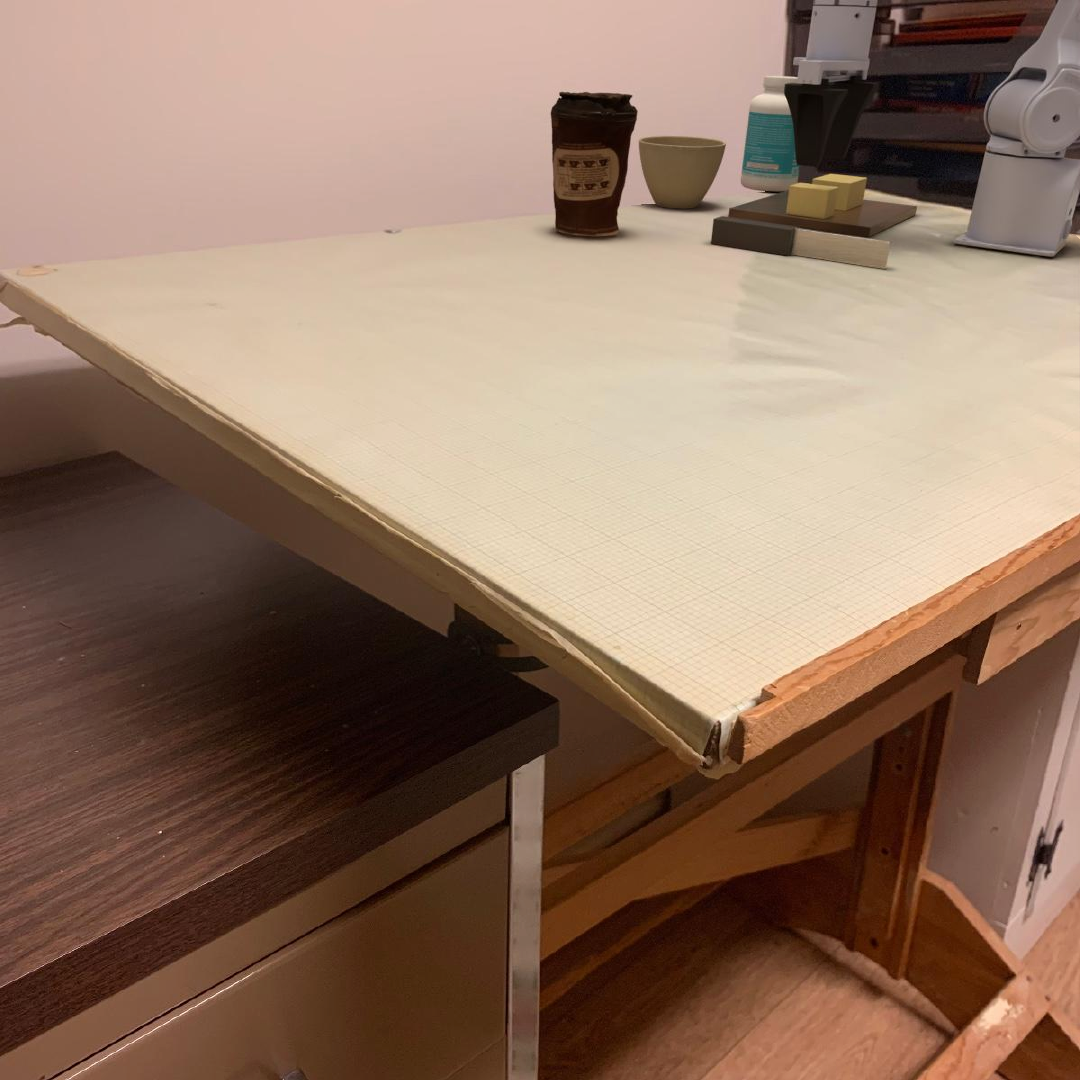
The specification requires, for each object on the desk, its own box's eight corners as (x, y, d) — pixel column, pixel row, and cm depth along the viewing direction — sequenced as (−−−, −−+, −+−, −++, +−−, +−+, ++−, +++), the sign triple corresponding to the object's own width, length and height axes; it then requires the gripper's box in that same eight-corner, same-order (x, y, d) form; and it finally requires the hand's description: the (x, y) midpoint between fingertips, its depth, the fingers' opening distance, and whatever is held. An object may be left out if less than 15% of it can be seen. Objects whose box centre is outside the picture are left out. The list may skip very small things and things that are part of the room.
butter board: (915, 214, 117) (917, 206, 116) (868, 237, 103) (870, 227, 103) (786, 198, 124) (788, 190, 124) (727, 217, 111) (729, 208, 110)
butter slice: (833, 215, 108) (838, 187, 107) (824, 219, 106) (829, 190, 105) (795, 210, 110) (799, 182, 109) (785, 214, 108) (789, 185, 107)
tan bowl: (630, 196, 121) (635, 134, 118) (712, 199, 121) (719, 137, 118) (637, 211, 112) (642, 143, 109) (724, 214, 113) (732, 147, 109)
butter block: (862, 204, 116) (867, 177, 114) (845, 211, 111) (850, 183, 110) (826, 200, 118) (830, 173, 116) (808, 206, 113) (812, 178, 112)
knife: (888, 266, 91) (893, 240, 90) (882, 270, 89) (887, 243, 88) (719, 240, 99) (721, 215, 98) (710, 243, 97) (713, 218, 96)
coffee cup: (622, 244, 96) (632, 97, 90) (538, 237, 97) (543, 93, 91) (632, 228, 103) (643, 92, 97) (554, 222, 105) (560, 87, 98)
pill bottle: (801, 194, 128) (819, 79, 121) (744, 191, 128) (759, 76, 121) (789, 185, 134) (806, 76, 128) (735, 183, 134) (749, 73, 128)
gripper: (828, 7, 99) (807, 151, 106) (774, 3, 88) (755, 164, 95) (899, 9, 96) (873, 158, 102) (852, 5, 85) (826, 172, 91)
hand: (820, 161), depth 98 cm, fingers open, 7 cm apart
